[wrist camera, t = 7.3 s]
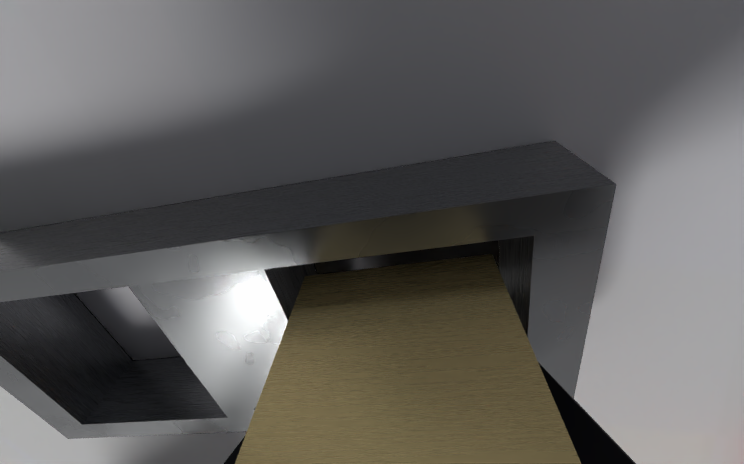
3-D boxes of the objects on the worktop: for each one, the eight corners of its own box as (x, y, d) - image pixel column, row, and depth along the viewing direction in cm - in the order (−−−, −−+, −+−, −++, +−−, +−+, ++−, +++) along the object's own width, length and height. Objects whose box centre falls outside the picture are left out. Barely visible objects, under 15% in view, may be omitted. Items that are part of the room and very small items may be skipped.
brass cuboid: (347, 385, 12) (318, 591, 7) (305, 276, 9) (223, 493, 5) (493, 376, 11) (556, 600, 7) (492, 253, 8) (593, 489, 4)
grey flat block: (118, 375, 17) (67, 438, 14) (-15, 235, 12) (-123, 289, 10) (536, 344, 13) (569, 418, 11) (554, 140, 9) (616, 184, 7)
